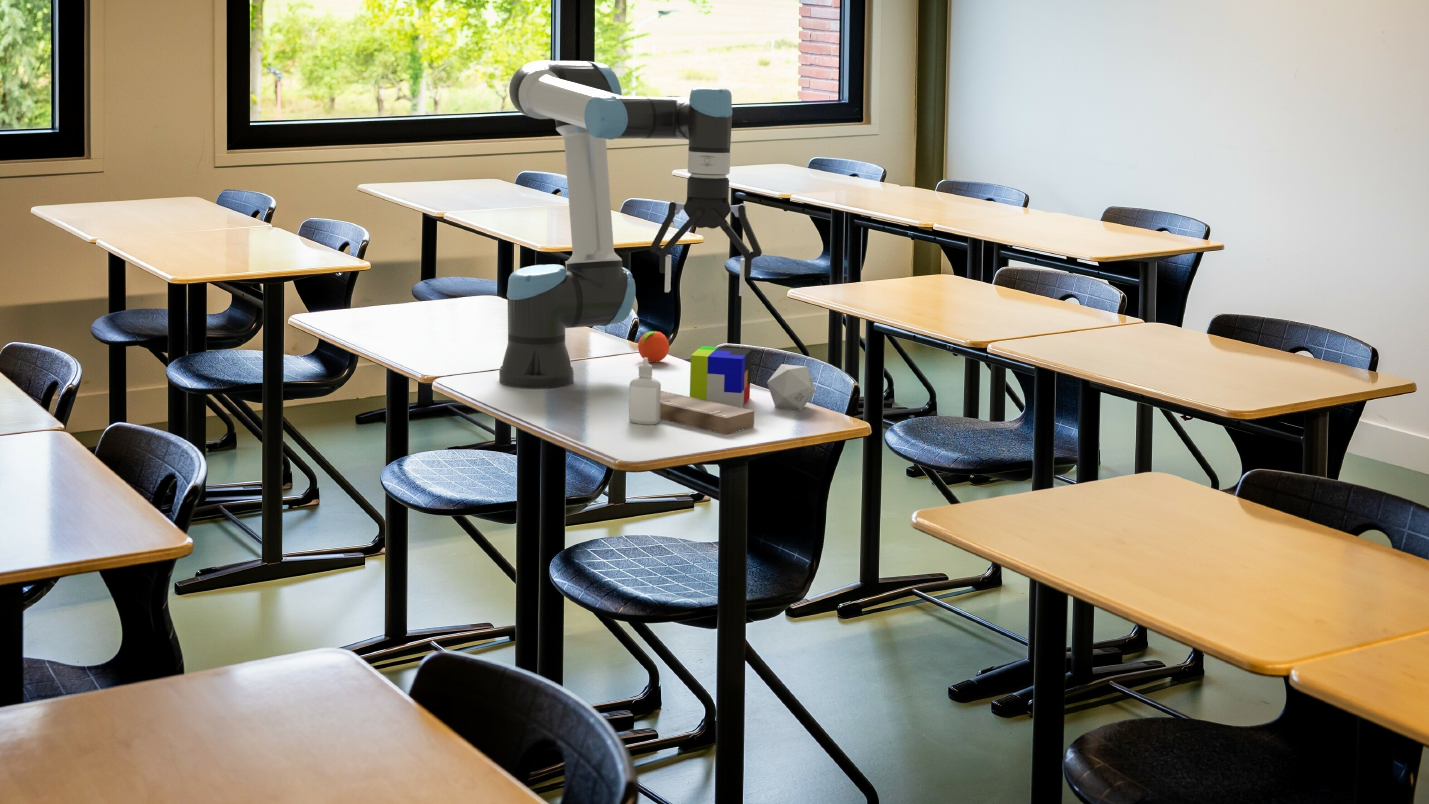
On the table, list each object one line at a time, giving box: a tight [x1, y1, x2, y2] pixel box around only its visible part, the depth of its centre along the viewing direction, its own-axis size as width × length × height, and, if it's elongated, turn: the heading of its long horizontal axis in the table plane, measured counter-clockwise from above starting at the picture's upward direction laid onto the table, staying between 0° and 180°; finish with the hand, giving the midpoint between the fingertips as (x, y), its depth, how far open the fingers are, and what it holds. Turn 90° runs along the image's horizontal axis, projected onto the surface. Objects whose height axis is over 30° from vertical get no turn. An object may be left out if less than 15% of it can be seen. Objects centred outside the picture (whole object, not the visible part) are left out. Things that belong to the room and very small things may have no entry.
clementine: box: [637, 330, 670, 363], centre depth 311 cm, size 8×7×7 cm
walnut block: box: [660, 390, 755, 435], centre depth 260 cm, size 23×8×3 cm, turn 51°
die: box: [766, 363, 817, 411], centre depth 273 cm, size 8×9×10 cm
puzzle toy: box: [689, 345, 752, 408], centre depth 274 cm, size 10×10×10 cm
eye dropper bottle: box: [628, 358, 662, 426], centre depth 256 cm, size 4×6×12 cm
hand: (704, 293), depth 258 cm, fingers open, 13 cm apart
